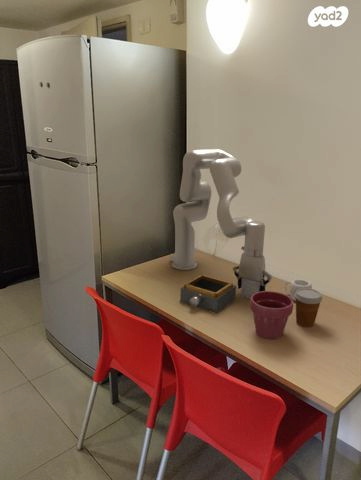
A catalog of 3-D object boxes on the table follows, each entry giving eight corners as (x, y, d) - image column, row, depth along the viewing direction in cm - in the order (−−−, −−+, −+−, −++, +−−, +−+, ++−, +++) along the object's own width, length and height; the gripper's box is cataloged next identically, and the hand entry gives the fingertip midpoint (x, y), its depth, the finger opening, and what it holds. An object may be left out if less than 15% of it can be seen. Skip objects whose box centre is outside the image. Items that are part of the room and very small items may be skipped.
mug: (314, 300, 161) (316, 283, 159) (302, 306, 156) (304, 288, 154) (290, 290, 170) (292, 273, 168) (277, 295, 165) (279, 278, 163)
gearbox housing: (175, 304, 156) (175, 287, 154) (200, 289, 171) (201, 273, 168) (211, 317, 147) (212, 299, 145) (235, 299, 161) (236, 282, 159)
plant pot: (260, 318, 147) (263, 286, 143) (296, 330, 139) (300, 297, 135) (240, 333, 136) (243, 300, 133) (278, 348, 128) (281, 313, 124)
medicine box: (262, 297, 164) (263, 278, 161) (258, 301, 160) (259, 281, 158) (244, 292, 168) (245, 274, 165) (240, 296, 164) (241, 277, 162)
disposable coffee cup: (288, 325, 142) (292, 295, 138) (294, 314, 150) (298, 285, 146) (316, 332, 138) (320, 301, 134) (320, 320, 146) (324, 290, 142)
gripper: (230, 249, 160) (228, 288, 165) (269, 258, 151) (266, 299, 156) (238, 245, 166) (236, 282, 171) (277, 253, 157) (274, 292, 162)
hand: (250, 290), depth 164 cm, fingers open, 9 cm apart
